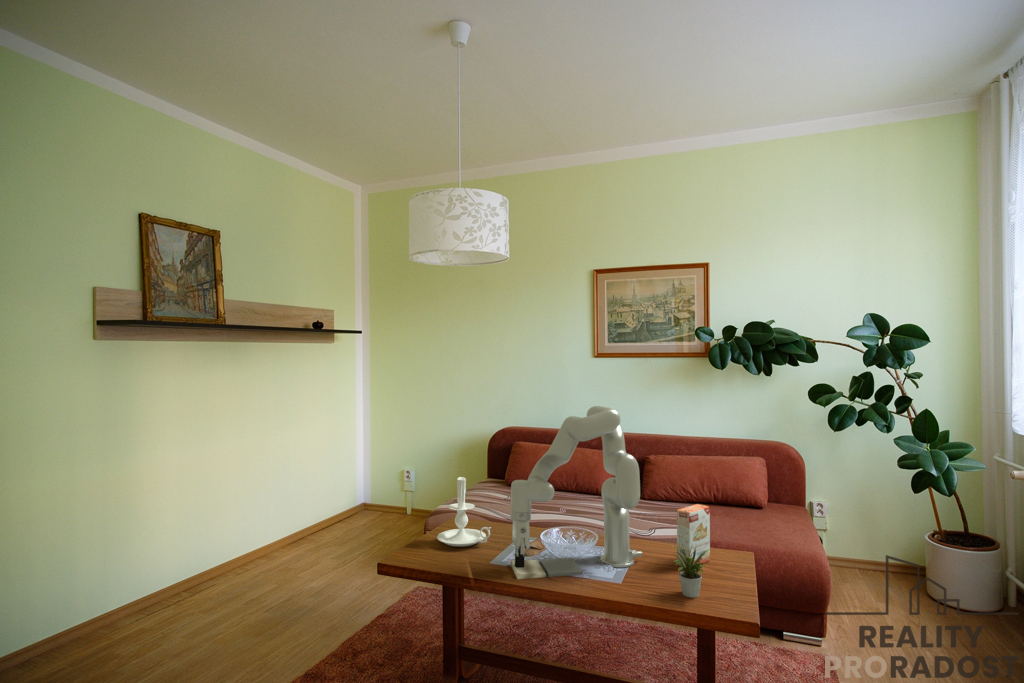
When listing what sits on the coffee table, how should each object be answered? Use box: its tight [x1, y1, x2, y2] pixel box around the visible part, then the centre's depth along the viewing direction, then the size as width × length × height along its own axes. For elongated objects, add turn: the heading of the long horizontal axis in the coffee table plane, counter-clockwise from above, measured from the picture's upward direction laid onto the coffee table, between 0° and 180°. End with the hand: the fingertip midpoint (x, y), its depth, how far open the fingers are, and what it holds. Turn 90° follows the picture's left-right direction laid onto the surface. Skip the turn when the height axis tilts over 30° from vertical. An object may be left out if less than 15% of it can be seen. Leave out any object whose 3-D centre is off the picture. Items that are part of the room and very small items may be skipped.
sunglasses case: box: [524, 537, 547, 557], centre depth 224 cm, size 18×7×7 cm
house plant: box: [666, 543, 708, 598], centre depth 183 cm, size 14×14×16 cm
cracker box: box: [676, 503, 711, 567], centre depth 211 cm, size 14×6×21 cm, turn 129°
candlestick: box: [436, 476, 492, 548], centre depth 235 cm, size 21×25×28 cm
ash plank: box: [510, 559, 549, 580], centre depth 202 cm, size 11×14×2 cm
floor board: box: [539, 557, 583, 578], centre depth 204 cm, size 12×14×2 cm
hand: (519, 566), depth 201 cm, fingers closed
